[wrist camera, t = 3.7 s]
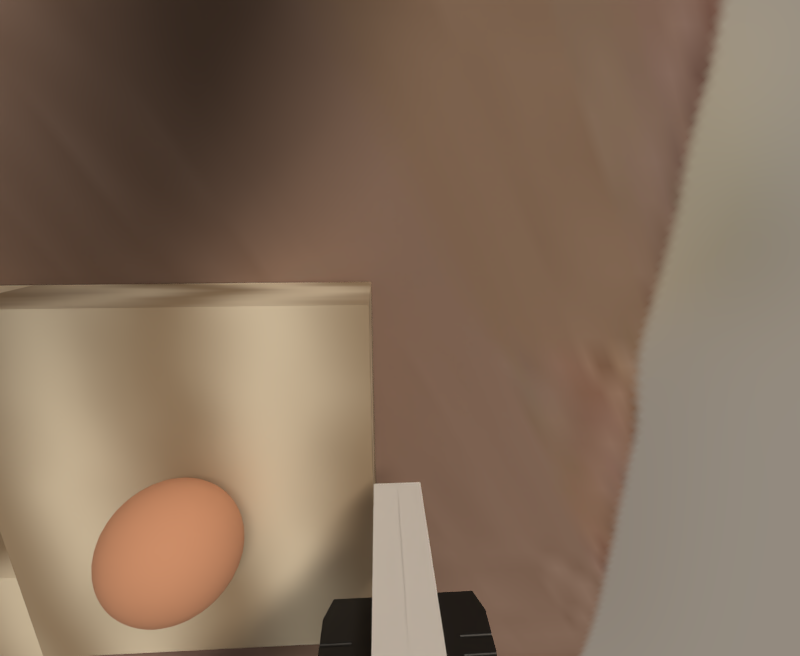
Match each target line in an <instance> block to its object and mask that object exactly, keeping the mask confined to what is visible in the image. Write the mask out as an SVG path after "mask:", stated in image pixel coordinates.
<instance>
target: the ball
mask: <svg viewBox="0 0 800 656" xmlns="http://www.w3.org/2000/svg"><path fill="white" fill-rule="evenodd" d="M243 547H244V525H243V520H242V516H241V513H240V511H239V509H238V507H237V505H236V503H235V502H234V500H233V499H232V498H231V496H230V495H229V494H228V493H227V492H225V491H224V490H223V489H222V488H220V487H218V486H217V485H215V484H213V483H211V482H208V481H205V480H202V479H197V478H174V479H169V480H165V481H162V482H159V483H156V484H153V485H151V486H149V487H147V488H145V489H143V490H141V491H140V492H138V493H137V494H135V495H134V496H132V497H131V498H130V499H128V500H127V501H126V502H125V503H124V504H123V505H122V506H121V507H120V508H119V509H118V510H117V511H116V512H115V513H114V514H113V516H112V517H111V518H110V519H109V521H108V522H107V524H106V525H105V527H104V529H103V531H102V532H101V534H100V536H99V538H98V541H97V544H96V547H95V550H94V553H93V559H92V565H91V574H92V584H93V588H94V592H95V595H96V597H97V599H98V601H99V603H100V604H101V606H102V607H103V609H104V610H105V611H106V612H107V613H108V614H109V615H110V616H111V617H112V618H114V619H115V620H117V621H118V622H120V623H122V624H124V625H127V626H130V627H133V628H137V629H144V630H156V629H163V628H168V627H172V626H175V625H178V624H181V623H183V622H185V621H188V620H190V619H191V618H193V617H195V616H196V615H198V614H200V613H201V612H203V611H204V610H205V609H206V608H208V607H209V606H210V605H211V604H212V603H214V602H215V600H216V599H217V598H218V597H219V596H220V595H221V594H222V593H223V592H224V590H225V589H226V587H227V586H228V585H229V583H230V581H231V580H232V578H233V576H234V574H235V572H236V570H237V568H238V566H239V563H240V560H241V556H242V553H243Z"/></svg>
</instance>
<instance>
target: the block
mask: <svg viewBox="0 0 800 656" xmlns="http://www.w3.org/2000/svg"><path fill="white" fill-rule="evenodd" d="M174 478H197V479H202V480H205V481H208V482H211V483H213V484H215V485H217V486H218V487H220V488H222V489H223V490H224V491H225V492H227V493H228V494H229V495H230V496H231V498H232V499H233V500H234V502H235V503H236V505H237V507H238V509H239V511H240V513H241V516H242V520H243V525H244V547H243V553H242V556H241V560H240V563H239V566H238V568H237V570H236V572H235V574H234V576H233V578H232V580H231V581H230V583H229V585H228V586H227V587H226V589H225V590H224V592H223V593H222V594H221V595H220V596H219V597H218V598H217V599H216V600H215V602H214V603H212V604H211V605H210V606H209V607H208V608H206V609H205V610H204V611H203V612H201V613H200V614H198V615H196V616H195V617H193V618H191V619H190V620H188V621H185V622H183V623H181V624H178V625H175V626H172V627H168V628H163V629H156V630H144V629H137V628H133V627H130V626H127V625H124V624H122V623H120V622H118V621H117V620H115V619H114V618H112V617H111V616H110V615H109V614H108V613H107V612H106V611H105V610H104V609H103V607H102V606H101V604H100V603H99V601H98V599H97V597H96V595H95V592H94V588H93V584H92V574H91V565H92V559H93V553H94V550H95V547H96V544H97V541H98V538H99V536H100V534H101V532H102V531H103V529H104V527H105V525H106V524H107V522H108V521H109V519H110V518H111V517H112V516H113V514H114V513H115V512H116V511H117V510H118V509H119V508H120V507H121V506H122V505H123V504H124V503H125V502H126V501H127V500H128V499H130V498H131V497H132V496H134V495H135V494H137V493H138V492H140V491H141V490H143V489H145V488H147V487H149V486H151V485H153V484H156V483H159V482H162V481H165V480H169V479H174ZM374 484H376V479H375V433H374V387H373V341H372V296H371V282H297V283H197V284H97V285H0V656H92V655H112V654H132V653H152V652H172V651H192V650H212V649H232V648H252V647H272V646H292V645H312V644H320V637H321V630H322V622H323V618H324V616H325V615H326V613H327V611H328V609H329V607H330V605H331V603H332V602H333V600H334V599H349V598H368V597H372V578H373V506H374Z"/></svg>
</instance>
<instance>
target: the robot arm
mask: <svg viewBox="0 0 800 656" xmlns="http://www.w3.org/2000/svg"><path fill="white" fill-rule="evenodd" d="M318 656H497V654H496V648H495V645H494V641H493V637H492V635H491V630H490V626H489V622H488V618H487V615H486V611H485V609H484V607H483V606H482V604H481V603H480V602H479V600H478V599H477V597H476V596H475V594H474V593H473V592H472V591H462V592H442V593H437V589H436V582H435V576H434V569H433V563H432V556H431V549H430V543H429V536H428V530H427V523H426V517H425V510H424V504H423V497H422V491H421V484H420V482H412V483H385V484H374V506H373V578H372V597H368V598H349V599H334V600H333V602H332V603H331V605H330V607H329V609H328V611H327V613H326V615H325V616H324V618H323V622H322V630H321V637H320V647H319V652H318Z"/></svg>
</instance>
